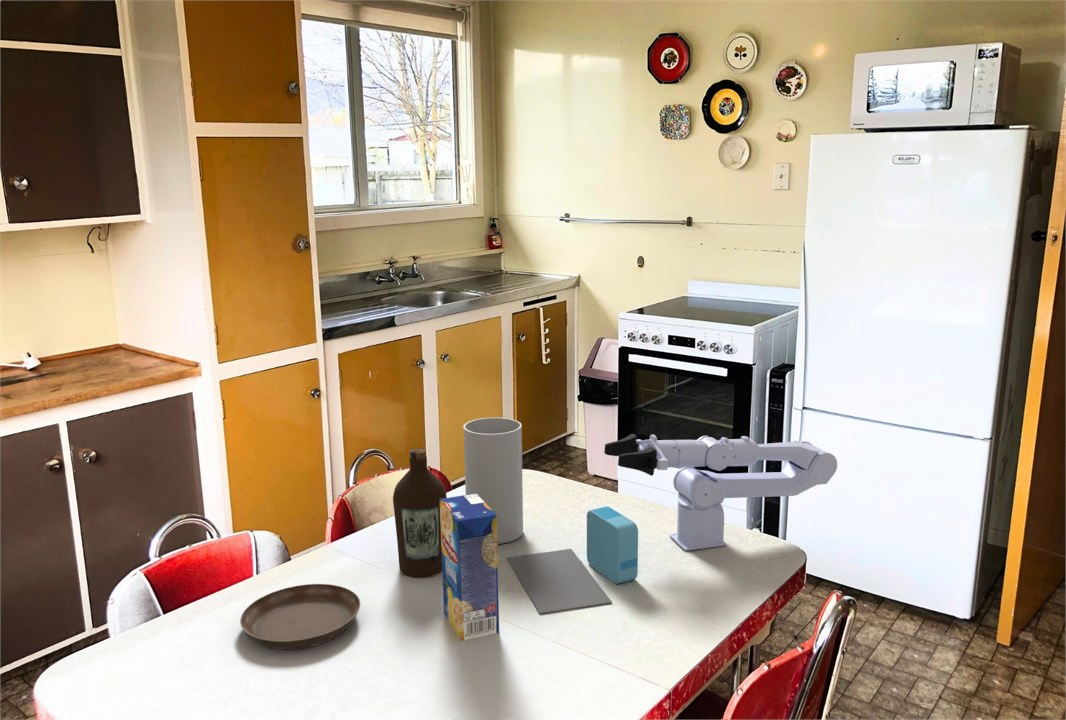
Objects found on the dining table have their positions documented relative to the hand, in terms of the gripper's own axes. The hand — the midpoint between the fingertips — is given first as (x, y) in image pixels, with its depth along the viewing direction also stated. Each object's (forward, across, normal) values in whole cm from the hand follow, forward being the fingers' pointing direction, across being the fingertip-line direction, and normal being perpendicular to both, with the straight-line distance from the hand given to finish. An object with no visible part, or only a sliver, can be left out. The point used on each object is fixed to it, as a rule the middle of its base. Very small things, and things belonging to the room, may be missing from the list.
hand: (611, 454), depth 176 cm
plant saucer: (+61, +11, +28) cm, 68 cm away
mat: (+12, +8, +23) cm, 27 cm away
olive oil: (+37, -5, +25) cm, 45 cm away
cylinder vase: (+19, -17, +24) cm, 35 cm away
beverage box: (+32, +19, +25) cm, 45 cm away
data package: (+1, +8, +22) cm, 24 cm away
